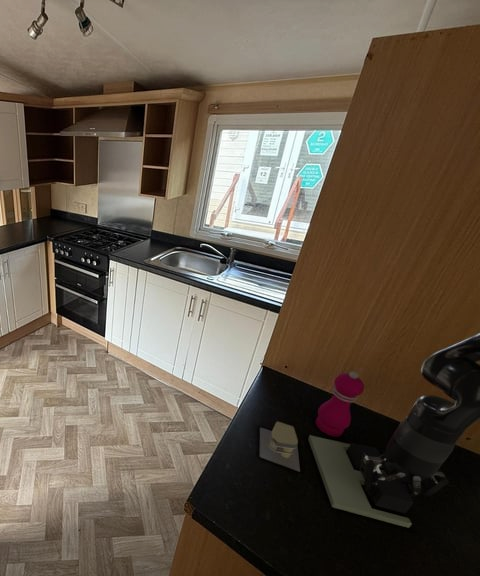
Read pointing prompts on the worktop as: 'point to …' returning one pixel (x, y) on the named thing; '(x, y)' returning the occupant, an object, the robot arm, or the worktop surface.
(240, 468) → the worktop surface
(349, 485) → the pale green e-shaped block
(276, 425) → the stacked layers on plate
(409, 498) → the black block
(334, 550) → the worktop surface
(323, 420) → the pepper mill
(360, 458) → the dark charcoal cube
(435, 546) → the worktop surface
